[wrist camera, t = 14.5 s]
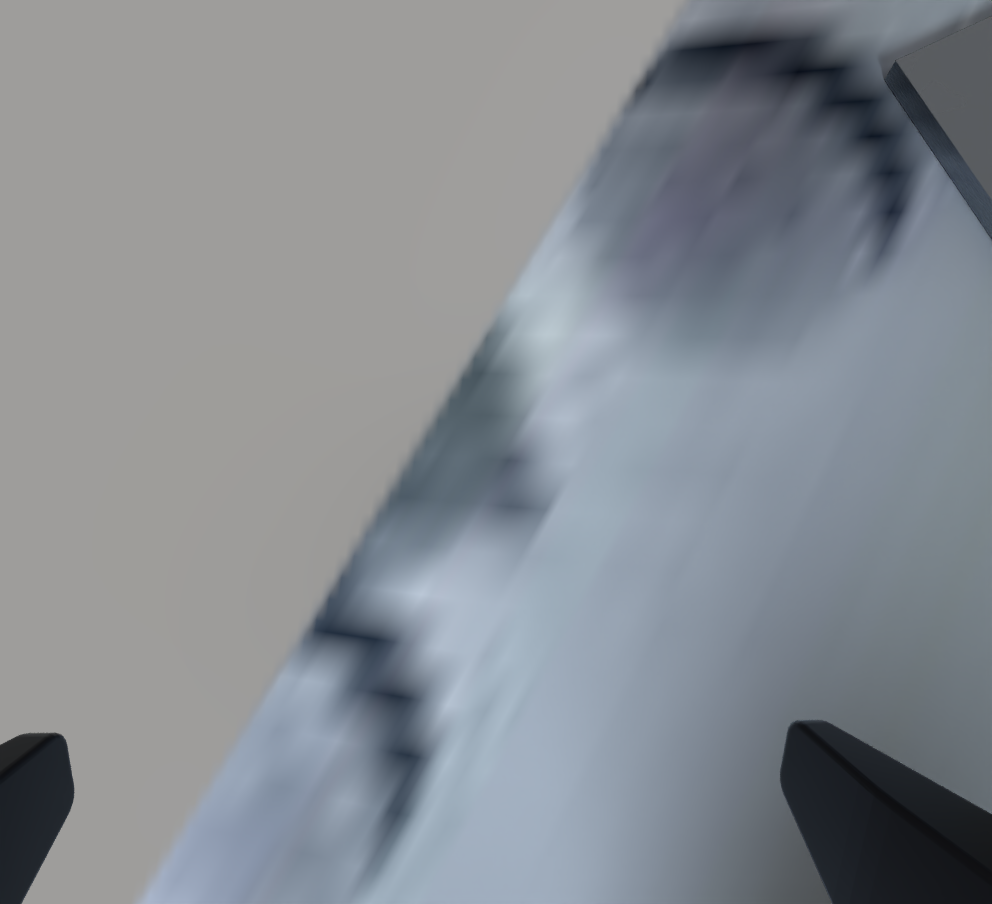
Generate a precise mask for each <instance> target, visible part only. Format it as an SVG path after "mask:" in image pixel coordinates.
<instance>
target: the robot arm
mask: <svg viewBox="0 0 992 904" xmlns="http://www.w3.org/2000/svg"><path fill="white" fill-rule="evenodd" d="M780 781H781V787H782V790H783V793H784V796H785V798H786V801H787V803H788V805H789V807H790V810H791V812H792V814H793V816H794V819H795V821H796V823H797V825H798V828H799V830H800V832H801V834H802V837H803V839H804V841H805V843H806V846H807V848H808V850H809V852H810V855H811V857H812V859H813V861H814V864H815V866H816V868H817V870H818V873H819V875H820V877H821V879H822V882H823V884H824V886H825V888H826V891H827V893H828V895H829V897H830V900H831V902H832V904H992V814H990V813H988V812H987V811H985V810H983V809H981V808H980V807H978V806H976V805H974V804H972V803H971V802H969V801H967V800H965V799H964V798H962V797H960V796H958V795H957V794H955V793H953V792H951V791H949V790H948V789H946V788H944V787H942V786H941V785H939V784H937V783H935V782H933V781H932V780H930V779H928V778H926V777H925V776H923V775H921V774H919V773H917V772H916V771H914V770H912V769H910V768H909V767H907V766H905V765H903V764H901V763H900V762H898V761H896V760H894V759H893V758H891V757H889V756H887V755H885V754H884V753H882V752H880V751H878V750H877V749H875V748H873V747H871V746H870V745H868V744H866V743H864V742H862V741H861V740H859V739H857V738H855V737H854V736H852V735H850V734H848V733H846V732H845V731H843V730H841V729H839V728H838V727H836V726H834V725H832V724H830V723H828V722H826V721H823V720H797V721H795V722H792V723H791V725H790V726H789V728H788V732H787V737H786V743H785V748H784V754H783V759H782V765H781V770H780ZM73 799H74V783H73V778H72V771H71V765H70V760H69V753H68V747H67V743H66V740H65V738H64V737H63V736H62V735H61V734H58V733H28V734H22V735H19V736H17V737H15V738H13V739H11V740H9V741H7V742H5V743H3V744H1V745H0V904H22V902H23V900H24V898H25V896H26V894H27V892H28V890H29V888H30V886H31V884H32V883H33V881H34V879H35V877H36V875H37V873H38V871H39V869H40V867H41V865H42V864H43V862H44V860H45V858H46V856H47V854H48V852H49V850H50V848H51V847H52V845H53V843H54V841H55V839H56V837H57V835H58V833H59V831H60V829H61V828H62V826H63V824H64V822H65V820H66V818H67V816H68V814H69V812H70V809H71V806H72V803H73Z"/></svg>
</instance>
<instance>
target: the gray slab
mask: <svg viewBox="0 0 992 904" xmlns="http://www.w3.org/2000/svg"><path fill="white" fill-rule="evenodd" d="M885 81H886V83H887V84H888V86H889V87H890V89H891V90H892V92H893V93H894V95H895V96H896V98H897V99H898V101H899V102H900V104H901V105H902V106H903V108H904V109H905V111H906V112H907V114H908V115H909V117H910V118H911V120H912V121H913V123H914V124H915V126H916V127H917V129H918V130H919V132H920V133H921V135H922V136H923V138H924V139H925V141H926V142H927V144H928V145H929V146H930V148H931V149H932V151H933V152H934V154H935V155H936V157H937V158H938V160H939V161H940V163H941V164H942V166H943V167H944V169H945V170H946V172H947V173H948V175H949V176H950V178H951V179H952V181H953V182H954V184H955V185H956V186H957V188H958V189H959V191H960V192H961V194H962V195H963V197H964V198H965V200H966V201H967V203H968V204H969V206H970V207H971V209H972V210H973V212H974V213H975V215H976V216H977V218H978V219H979V221H980V222H981V224H982V225H983V226H984V228H985V229H986V231H987V232H988V234H989V235H990V237H991V238H992V16H990V17H988V18H986V19H984V20H982V21H980V22H977V23H975V24H973V25H971V26H969V27H967V28H964V29H962V30H960V31H958V32H956V33H954V34H952V35H949V36H947V37H945V38H943V39H941V40H939V41H937V42H934V43H932V44H930V45H928V46H926V47H924V48H921V49H919V50H917V51H915V52H913V53H911V54H909V55H906V56H904V57H902V58H900V59H898V60H896V61H895V63H894V64H893V66H892V68H891V70H890V72H889V73H888V75H887V77H886V79H885Z"/></svg>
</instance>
